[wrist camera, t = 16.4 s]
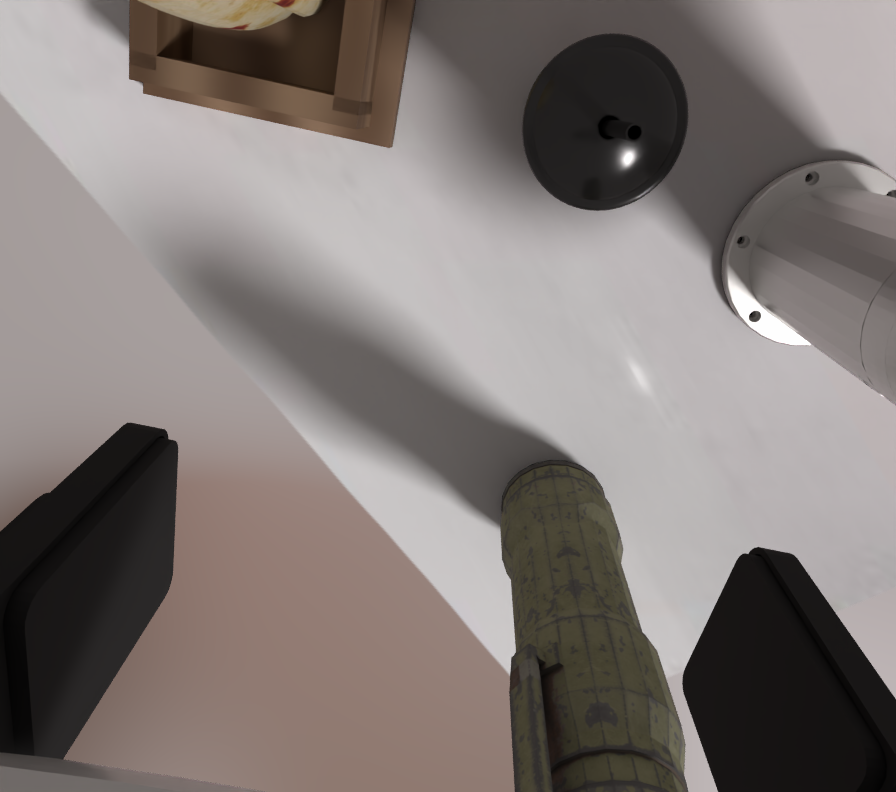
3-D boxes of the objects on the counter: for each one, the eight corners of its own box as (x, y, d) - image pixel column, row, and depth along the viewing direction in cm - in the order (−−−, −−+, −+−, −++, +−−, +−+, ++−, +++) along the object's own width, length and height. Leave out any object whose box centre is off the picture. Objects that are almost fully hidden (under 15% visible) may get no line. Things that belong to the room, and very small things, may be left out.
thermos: (571, 574, 58) (686, 1152, 26) (465, 503, 56) (449, 1046, 24) (642, 508, 55) (871, 1070, 23) (534, 429, 53) (622, 939, 21)
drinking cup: (490, 152, 44) (499, 188, 26) (541, 32, 41) (592, -23, 23) (592, 198, 45) (671, 265, 27) (649, 84, 42) (780, 72, 24)
